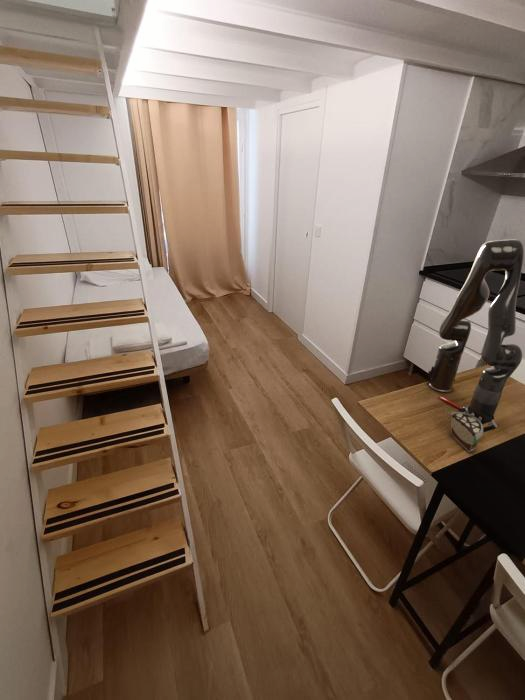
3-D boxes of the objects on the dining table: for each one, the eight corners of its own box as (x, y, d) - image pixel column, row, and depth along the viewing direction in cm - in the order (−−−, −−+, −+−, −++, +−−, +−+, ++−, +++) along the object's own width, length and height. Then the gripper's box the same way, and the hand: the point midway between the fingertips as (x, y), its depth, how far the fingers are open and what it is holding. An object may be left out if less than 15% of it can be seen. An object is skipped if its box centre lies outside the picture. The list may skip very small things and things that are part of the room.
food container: (488, 450, 115) (493, 429, 110) (472, 456, 114) (476, 435, 109) (462, 427, 125) (465, 407, 120) (448, 432, 125) (450, 411, 120)
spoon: (436, 399, 144) (437, 397, 143) (443, 396, 146) (443, 394, 145) (468, 417, 133) (469, 415, 132) (475, 414, 134) (475, 412, 134)
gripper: (513, 404, 109) (496, 444, 117) (473, 385, 119) (460, 422, 127) (500, 411, 106) (484, 451, 114) (460, 391, 116) (448, 429, 124)
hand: (471, 436), depth 121 cm, fingers closed
